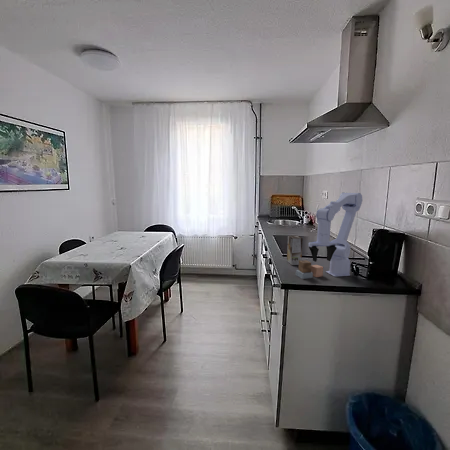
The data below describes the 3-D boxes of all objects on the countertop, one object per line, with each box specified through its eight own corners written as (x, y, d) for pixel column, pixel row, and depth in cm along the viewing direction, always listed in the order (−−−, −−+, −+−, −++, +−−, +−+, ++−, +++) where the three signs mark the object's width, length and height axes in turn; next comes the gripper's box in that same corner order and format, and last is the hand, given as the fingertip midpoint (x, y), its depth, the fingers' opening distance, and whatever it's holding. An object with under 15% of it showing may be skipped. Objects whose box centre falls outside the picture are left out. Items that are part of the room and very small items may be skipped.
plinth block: (305, 274, 141) (305, 269, 140) (312, 278, 135) (312, 272, 135) (295, 275, 139) (295, 270, 139) (302, 279, 133) (302, 273, 133)
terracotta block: (315, 273, 142) (316, 264, 141) (322, 276, 138) (323, 266, 137) (309, 274, 140) (310, 265, 139) (316, 277, 136) (316, 268, 135)
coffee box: (301, 265, 157) (303, 238, 154) (291, 265, 156) (292, 238, 154) (296, 260, 166) (297, 235, 163) (286, 260, 165) (287, 235, 163)
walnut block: (306, 269, 140) (306, 260, 139) (310, 272, 135) (311, 262, 135) (298, 270, 139) (298, 260, 138) (302, 272, 134) (303, 263, 134)
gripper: (332, 231, 134) (329, 257, 136) (305, 232, 130) (303, 259, 132) (341, 234, 127) (338, 261, 129) (313, 234, 124) (311, 263, 126)
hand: (321, 260), depth 130 cm, fingers open, 7 cm apart
